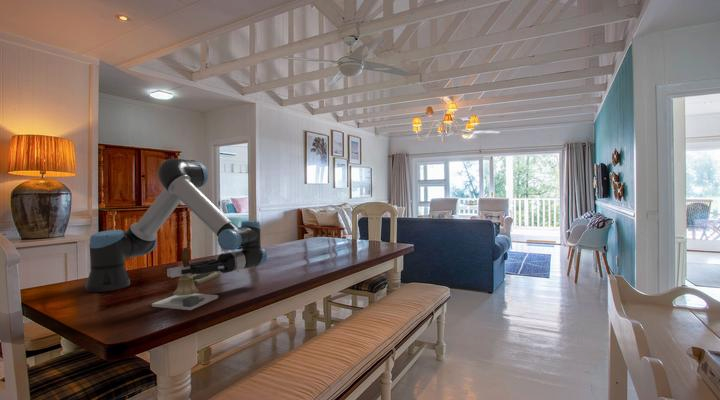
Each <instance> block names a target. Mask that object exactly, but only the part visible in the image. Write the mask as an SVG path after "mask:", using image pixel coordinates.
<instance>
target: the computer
mask: <svg viewBox="0 0 720 400" xmlns="http://www.w3.org/2000/svg"><path fill="white" fill-rule="evenodd" d="M190 276H192V277H193V282H194V285H195V286H199V285H200V284H204V283H206V282H208V281H211V280H213V279H216V277H217V278H218V277H220V273H219V271H214V272H208V273H202V274H196V273H195V274H190Z"/></svg>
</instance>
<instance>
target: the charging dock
mask: <svg viewBox="0 0 720 400" xmlns="http://www.w3.org/2000/svg"><path fill="white" fill-rule="evenodd" d="M218 298H219V295H217V294H206V293H205V294H204V293H194V294H190V295H182V296H177V295H172V296H169V297H166V298H163V299H161V300H158V301H155V302H153V303H151V307H153V308H162V309H175V310H184V311H185V310H186V311H193V310H194V309H196V308H199V307H202V306H203V305H206V304H208V303H211V302H212V301H214V300H217V299H218Z"/></svg>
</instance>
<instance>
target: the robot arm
mask: <svg viewBox="0 0 720 400" xmlns="http://www.w3.org/2000/svg"><path fill="white" fill-rule="evenodd" d="M157 178H158V180H159V182H160V184H161V185H162V187H163V189H162V190H161V192H160V193H159V194H158V195H157V196H156V199H154V201H153V202H152V203H151V205H150V206H149V207H148V209H146V211H145V213H143V215H142V217H141V218H140V219H139V221H137V222H133V223H132V224H131V225H130V226H128V229H127V230H126V231H124V230H122V229H110V230H103V231H99V232H98V231H97V232H95V233H93V234H92V235H91V236H90V238H89V257H90V258H89V259H90V260H89V263H90V270H89V275H88V278H87V281H86V283H85V292H87V293H88V292H90V293H102V292H111V291H116V290H121V289H124V288H128V287H129V286H130V285H131V279H130V277H129V274H128V272H127V269H126V265H125V262H126V261H125V259H129V258H135V257H141V256H144V255H148V254H149V253H151V252H152V251H153V250H155V247H156V245H157V238H158V233H157V232H158V231H159V230H160V228H162V226H163V224H164V223H165V222H166V221H167V220H168V218H169V217H170V216H171V215H172V213H173V212H174V210H176V208H177V207H178V206H179V204H180V203H181V202H182V203H183V204H184V205H186V207H187V208H188V209H189V210H190V211H191V212H192V213H193V214H194V215H195V216H197V218H198V219H199V220H201V222H202V223H203V224H205V226H207V227H208V229H209V230H211V232H212V233H214V234H215V236H217V242H218V245H219V247H220V248H221V249H223V250H234V249H237V248H240V247H241V250H237V251H231V252H225V253H220V254H219V255H218V257H217V259H216V258H212V259H209V260H208V259H204V260H200V261H196V262H195V261H194V262H191V263H190V262H189V264H188V267H184V266H183V265H181V266H175V267H169V268H167V269H166V271H167V272H166V274H167V277H168V278H170V279H171V278H176V277H177V278H178V277H182V276H183V275H194V274H202V273H208V272H220V273H222V274H225V273H231V272H235V271H236V272H239V271H240V270H244V269H249V268H257V267H259V266H262V265H264V264H265V263H266V262H267V260H268V254H267V251H266V249H265V248H263V247H262V246H261V243H262V242H261V230H262V229H261V222H260V221H259V220H243V221H242V222H241V225H240V226H239V227H238V226H237V225H235V223H234V222H233V221H231V219H229V217H228V216H226V215H225V214H224V213H223V212H222V210H220V208H218V207H217V206H216V205H215V204H214V203H213V202H212V201H211V200H210V199H209V198H208V197H207V196H206V195H205V194H204V193H203V192H202V191H201V190H200V189H199V188H201V187H203V186H204V185H206V183H207V182H208V178H209V175H208V169H207V167H206V166H205V165H204V164H203V163H202V162H200V161H197V160H195V159H183V158H176V157H174V158H173V157H171V158H168V159H165V160H164V161H162V162H161V164H159V167H158V169H157Z"/></svg>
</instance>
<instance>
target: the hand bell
mask: <svg viewBox="0 0 720 400" xmlns="http://www.w3.org/2000/svg"><path fill="white" fill-rule="evenodd" d="M190 256H191V255H190V252H189V248H188V247H184V248H183V250H182V253H181V262H182V266H184V267H188V264H190V258H191V257H190ZM199 291H200V289H199V288H197V287H196V285H194V282H193V277H192V276H191V275H190V274H188V275H183V276H179V278H178V284H177V288H176V289H175V290H174V291H173V293H172V296H174V295H177V296H182V295H190V294H194V293H195V294H198V293H200V292H199Z"/></svg>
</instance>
